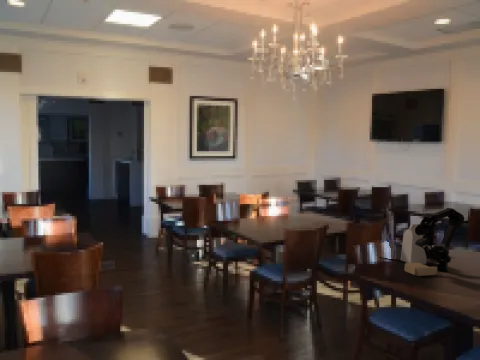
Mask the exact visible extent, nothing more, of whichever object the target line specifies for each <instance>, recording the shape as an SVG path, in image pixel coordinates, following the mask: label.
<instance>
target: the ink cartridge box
mask: <svg viewBox="0 0 480 360" xmlns="http://www.w3.org/2000/svg"><path fill="white" fill-rule="evenodd" d="M392 239H393V238H392V237H386V239H385V240H384V239H382V240H380V242H384V241H387V242H389V246H390V248H391V257H392V259H394V258H395V259H396V254H397V241H394V240H392ZM395 259H394V260H395Z"/></svg>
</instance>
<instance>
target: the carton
mask: <svg viewBox="0 0 480 360" xmlns="http://www.w3.org/2000/svg"><path fill="white" fill-rule="evenodd" d="M422 267H430V266H428V265H427V264H421V263H406V262H405V264H404V272H406V273H409V274H411V275H413V276H416V275H417V268H422Z"/></svg>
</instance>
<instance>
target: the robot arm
mask: <svg viewBox="0 0 480 360" xmlns="http://www.w3.org/2000/svg"><path fill="white" fill-rule="evenodd" d="M444 218H445V219H446V218H448V226H447V228H446V231H445V233H444V236H443V238H442V240H441V242H440V244H436V242H435V239H436V238H437V237H436V236H435V231H436V228H438V225H437V223H439V221H440V220H442V219H444ZM464 220H465V216H464V215H463V214H462V213H461V212H459V211H458V210H456V209H454V208H451V207H446V208H445V209H442V210H439V211H437V212H433V213H432V212H430V213H425V214H424V216H423V217H422V219H421V221H420V222H419V223H417V224H418V226H417V227H416V228H415V233H416V234H417V235H423V237H422V238H421V239H418V240H416V241H415V245H417V246H420V247H421V248H423V249H424V251H425V254H426V260H430V258H431V256H432V255H433V259H434V260H435V261H436V262H435V267H437V272H450V270H449V269H448V265H449V263H451V261H452V258H451V256H450V255H449V254H450V251H449V250H450V249H449V248H450V245H451V243H452V240H453V238H454V235H455V233H456V231H457V229H458V228H459V227H461V226H462V224H463V223H464V222H465V221H464Z"/></svg>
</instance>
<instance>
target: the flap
mask: <svg viewBox="0 0 480 360" xmlns="http://www.w3.org/2000/svg"><path fill="white" fill-rule="evenodd" d="M435 275H436V276H437V275H438V270H437V267H436V266H429V267H422V268H417V275H415V277H422V276H424V277H425V276H435Z"/></svg>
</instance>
